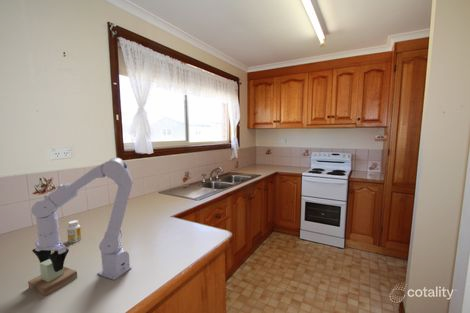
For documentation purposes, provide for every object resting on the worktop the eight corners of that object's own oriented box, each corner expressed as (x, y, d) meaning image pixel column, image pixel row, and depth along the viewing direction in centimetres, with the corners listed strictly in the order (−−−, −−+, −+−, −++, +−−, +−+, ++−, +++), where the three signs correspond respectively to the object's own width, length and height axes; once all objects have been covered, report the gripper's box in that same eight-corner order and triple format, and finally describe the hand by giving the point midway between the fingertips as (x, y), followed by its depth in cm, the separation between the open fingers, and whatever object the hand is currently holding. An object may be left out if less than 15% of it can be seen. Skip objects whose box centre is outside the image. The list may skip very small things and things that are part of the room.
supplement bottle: (79, 236, 114) (77, 218, 113) (82, 239, 110) (81, 221, 109) (66, 240, 110) (65, 222, 109) (70, 244, 106) (68, 224, 105)
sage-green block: (64, 273, 80) (62, 258, 79) (48, 282, 75) (46, 265, 75) (57, 271, 82) (56, 255, 81) (41, 279, 77) (39, 263, 76)
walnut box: (77, 278, 82) (76, 271, 81) (46, 297, 73) (45, 288, 72) (60, 272, 86) (60, 265, 85) (28, 289, 76) (28, 281, 76)
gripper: (22, 233, 76) (27, 269, 77) (47, 240, 70) (51, 279, 72) (46, 225, 82) (50, 258, 84) (71, 231, 77) (74, 267, 78)
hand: (52, 267), depth 78 cm, fingers open, 7 cm apart
